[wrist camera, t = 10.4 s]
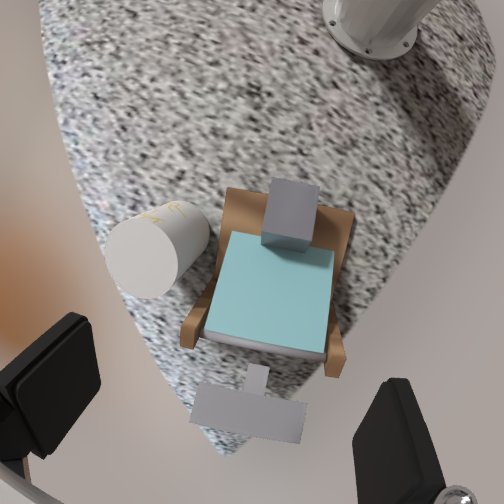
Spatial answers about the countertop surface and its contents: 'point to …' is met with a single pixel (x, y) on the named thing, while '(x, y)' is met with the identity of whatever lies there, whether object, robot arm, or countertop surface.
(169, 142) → the countertop surface
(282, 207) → the grey block
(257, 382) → the trapdoor
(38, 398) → the robot arm
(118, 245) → the cup
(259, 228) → the frame
